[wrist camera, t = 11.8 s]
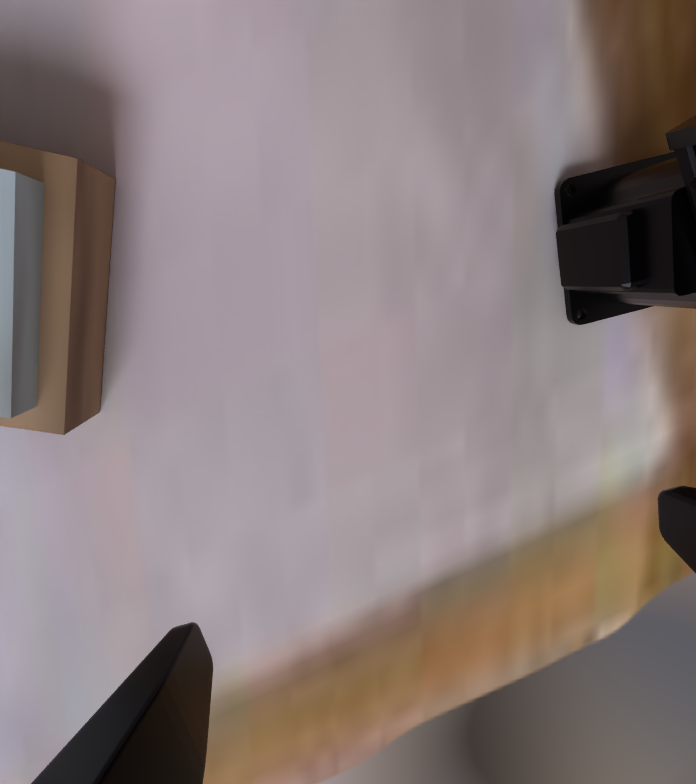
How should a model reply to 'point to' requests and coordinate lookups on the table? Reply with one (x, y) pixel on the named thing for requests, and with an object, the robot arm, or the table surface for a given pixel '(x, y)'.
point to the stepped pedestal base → (52, 287)
